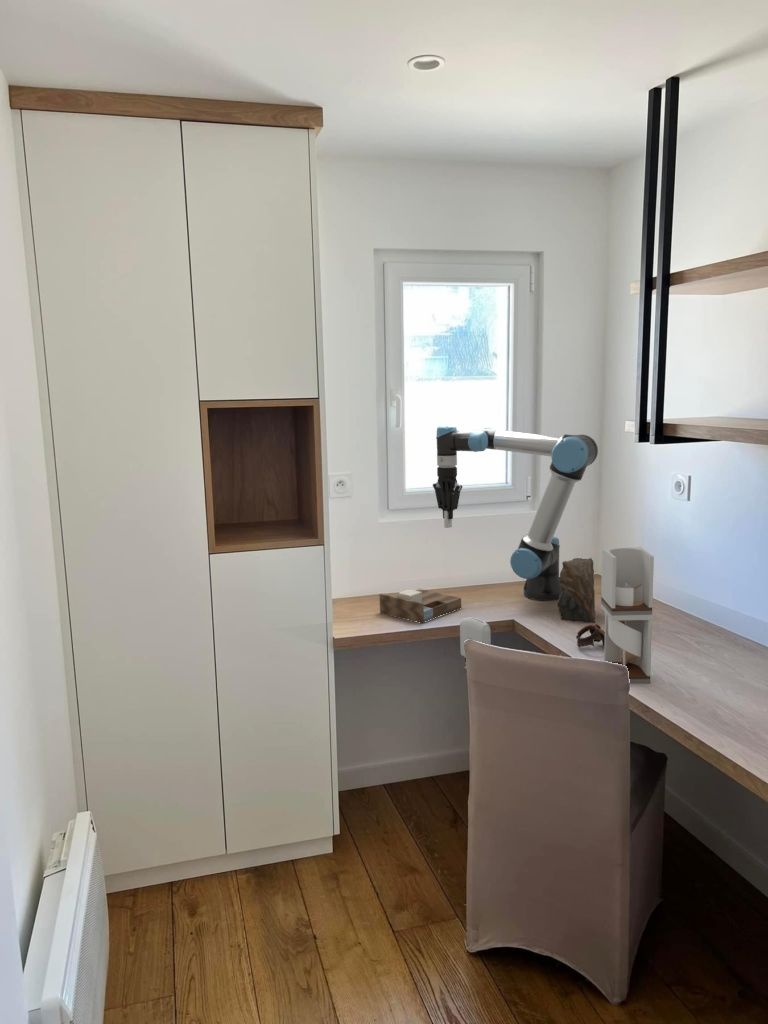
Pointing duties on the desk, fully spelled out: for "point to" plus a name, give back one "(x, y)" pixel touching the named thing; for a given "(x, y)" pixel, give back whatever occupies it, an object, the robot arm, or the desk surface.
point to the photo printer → (474, 632)
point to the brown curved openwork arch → (595, 636)
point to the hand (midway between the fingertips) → (448, 527)
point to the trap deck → (419, 606)
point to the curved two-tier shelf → (628, 609)
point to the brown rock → (577, 591)
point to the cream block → (411, 595)
